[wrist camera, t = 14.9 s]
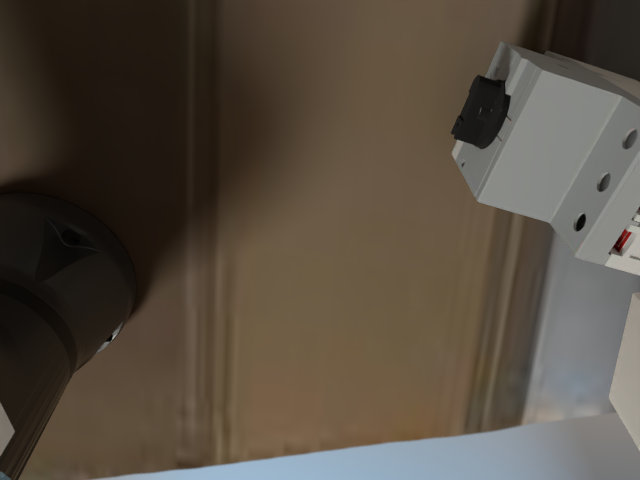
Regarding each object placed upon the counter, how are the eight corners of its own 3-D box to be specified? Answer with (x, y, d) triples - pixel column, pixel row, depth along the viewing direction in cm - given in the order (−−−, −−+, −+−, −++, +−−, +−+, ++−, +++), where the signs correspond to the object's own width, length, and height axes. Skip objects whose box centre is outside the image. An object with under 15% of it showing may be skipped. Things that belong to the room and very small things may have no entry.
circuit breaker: (461, 21, 37) (535, 78, 24) (651, 85, 39) (814, 169, 26) (419, 127, 41) (464, 226, 28) (595, 180, 43) (713, 296, 30)
